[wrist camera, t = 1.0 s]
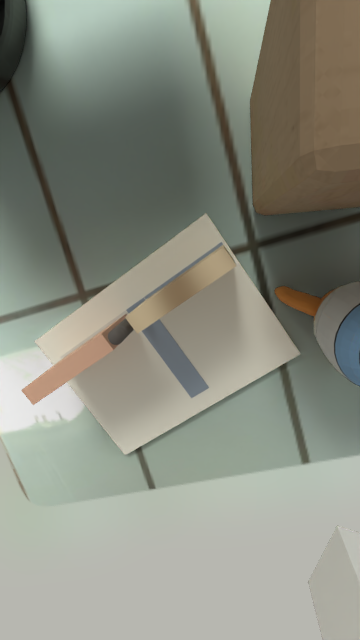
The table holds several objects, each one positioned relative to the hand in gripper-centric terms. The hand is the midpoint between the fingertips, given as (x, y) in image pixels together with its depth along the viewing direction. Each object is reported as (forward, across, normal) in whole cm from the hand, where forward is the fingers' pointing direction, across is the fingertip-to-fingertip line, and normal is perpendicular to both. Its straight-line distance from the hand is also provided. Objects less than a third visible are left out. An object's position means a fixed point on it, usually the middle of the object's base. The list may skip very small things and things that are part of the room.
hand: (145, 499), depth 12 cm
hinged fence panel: (+21, -9, -4) cm, 23 cm away
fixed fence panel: (+22, -2, +4) cm, 22 cm away
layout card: (+22, -2, -3) cm, 22 cm away
